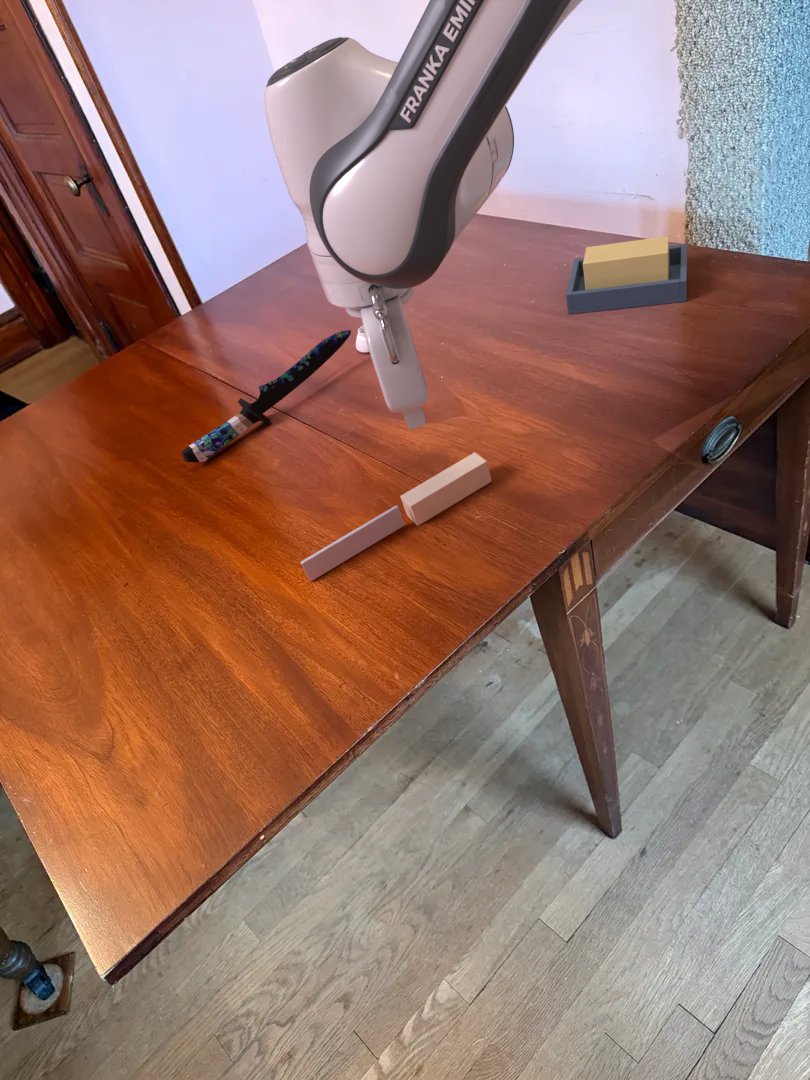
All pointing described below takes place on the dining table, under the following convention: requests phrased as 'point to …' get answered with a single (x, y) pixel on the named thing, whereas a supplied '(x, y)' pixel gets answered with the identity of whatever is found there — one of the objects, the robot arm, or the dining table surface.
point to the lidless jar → (361, 341)
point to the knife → (264, 400)
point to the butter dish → (629, 288)
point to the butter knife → (418, 508)
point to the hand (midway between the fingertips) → (410, 397)
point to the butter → (626, 263)
